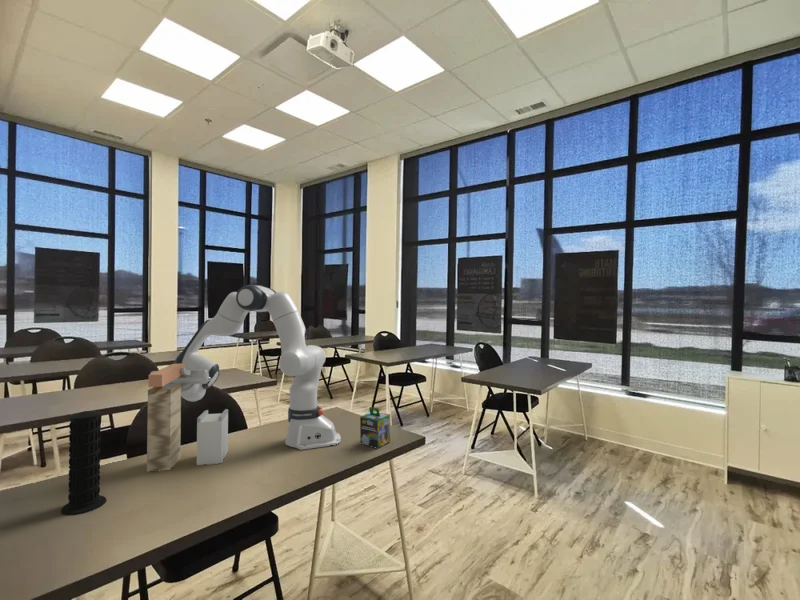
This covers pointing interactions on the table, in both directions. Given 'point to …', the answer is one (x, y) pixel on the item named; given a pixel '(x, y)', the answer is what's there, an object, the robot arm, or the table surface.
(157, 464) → the block
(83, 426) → the handle grip
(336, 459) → the table surface
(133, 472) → the table surface
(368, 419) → the chalk box
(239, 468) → the table surface
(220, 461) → the yoke block
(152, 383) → the shaft
